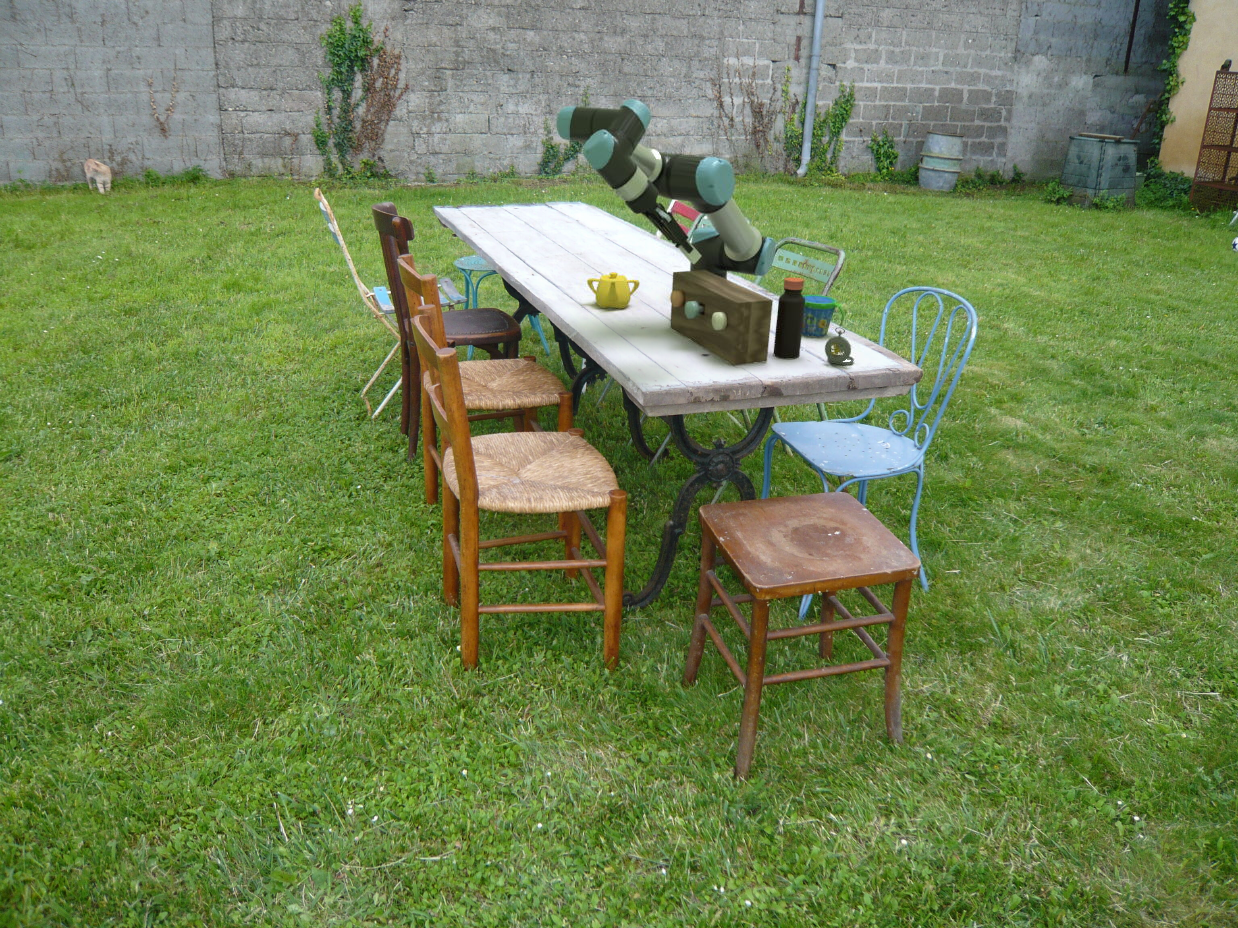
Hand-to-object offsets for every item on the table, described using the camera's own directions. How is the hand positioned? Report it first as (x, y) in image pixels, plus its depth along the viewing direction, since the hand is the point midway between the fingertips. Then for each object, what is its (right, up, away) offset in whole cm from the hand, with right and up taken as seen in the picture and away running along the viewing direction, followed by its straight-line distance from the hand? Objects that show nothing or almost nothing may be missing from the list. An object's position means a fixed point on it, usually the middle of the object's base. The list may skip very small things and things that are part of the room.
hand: (696, 259), depth 223 cm
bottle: (+25, -21, +18) cm, 38 cm away
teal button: (+2, -11, +20) cm, 23 cm away
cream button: (+8, -15, +11) cm, 20 cm away
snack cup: (+36, -13, +37) cm, 54 cm away
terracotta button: (-1, -6, +31) cm, 31 cm away
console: (+7, -17, +26) cm, 32 cm away
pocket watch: (+37, -24, +13) cm, 46 cm away
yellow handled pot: (-21, -1, +60) cm, 63 cm away
